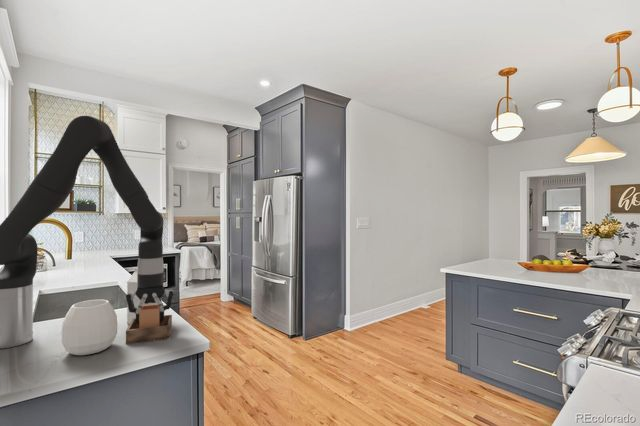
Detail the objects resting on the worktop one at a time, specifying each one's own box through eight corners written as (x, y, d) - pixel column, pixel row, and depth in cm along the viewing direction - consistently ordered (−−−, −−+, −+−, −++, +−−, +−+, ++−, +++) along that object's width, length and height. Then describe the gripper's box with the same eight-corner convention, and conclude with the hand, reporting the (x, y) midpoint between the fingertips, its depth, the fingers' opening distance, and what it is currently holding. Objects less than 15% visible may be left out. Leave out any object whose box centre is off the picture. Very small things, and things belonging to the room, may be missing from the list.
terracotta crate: (139, 332, 103) (139, 310, 103) (141, 326, 108) (141, 305, 108) (159, 330, 105) (159, 308, 105) (160, 324, 110) (160, 304, 110)
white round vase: (128, 343, 99) (128, 298, 99) (88, 362, 86) (88, 311, 86) (92, 339, 102) (92, 296, 102) (48, 357, 89) (48, 308, 89)
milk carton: (144, 325, 115) (144, 271, 115) (126, 324, 116) (127, 270, 116) (158, 319, 122) (158, 267, 122) (141, 317, 123) (141, 267, 123)
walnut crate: (125, 344, 99) (125, 330, 99) (132, 330, 110) (132, 318, 110) (169, 338, 103) (169, 325, 103) (171, 326, 114) (171, 314, 114)
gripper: (122, 274, 100) (122, 330, 100) (174, 272, 105) (174, 324, 105) (127, 270, 107) (127, 322, 107) (175, 268, 112) (175, 317, 112)
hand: (150, 323), depth 106 cm, fingers closed on terracotta crate, 5 cm apart
